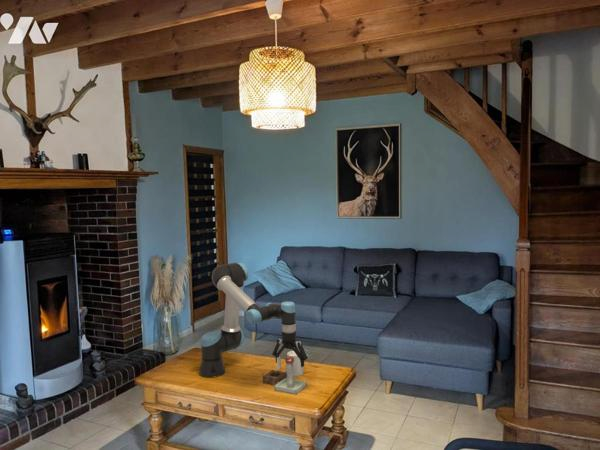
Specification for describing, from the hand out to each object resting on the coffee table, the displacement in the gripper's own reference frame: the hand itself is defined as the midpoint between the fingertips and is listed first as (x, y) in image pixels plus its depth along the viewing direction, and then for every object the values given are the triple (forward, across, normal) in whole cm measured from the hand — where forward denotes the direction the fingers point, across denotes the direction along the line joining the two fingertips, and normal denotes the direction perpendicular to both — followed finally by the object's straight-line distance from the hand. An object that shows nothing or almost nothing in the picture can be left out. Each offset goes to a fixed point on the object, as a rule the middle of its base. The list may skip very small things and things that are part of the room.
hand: (290, 370), depth 245 cm
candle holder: (+10, -8, +20) cm, 24 cm away
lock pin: (+9, 0, 0) cm, 9 cm away
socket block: (+10, -12, +5) cm, 17 cm away
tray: (+10, 0, 0) cm, 10 cm away
